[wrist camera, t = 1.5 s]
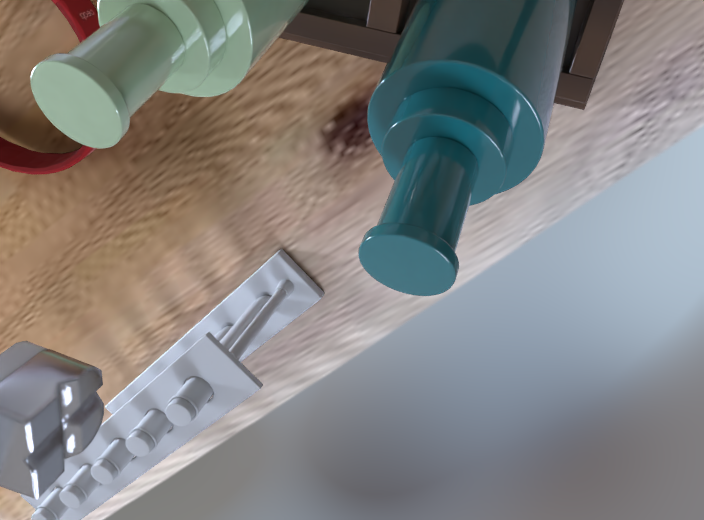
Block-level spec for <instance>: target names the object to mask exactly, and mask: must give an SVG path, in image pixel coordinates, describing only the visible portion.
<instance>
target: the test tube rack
mask: <svg viewBox="0 0 704 520" xmlns="http://www.w3.org/2000/svg"><path fill="white" fill-rule="evenodd" d="M323 295H324V292H323V291H322V290H321V289H320V288H319V287H318V286H317V285H316V284H315V283H314V282H313V280H312V279H311V278H310V277H309V276H308V275H307V274H306V273H305V272H304V271H303V270H302V269H301V268H300V267H299V266H298V265H297V264H296V263H295V262H294V261H293V260H292V259H291V258H290V257H289V256H288V255H287V254H286V253H285V252H284V251H283V250H282V249H280V250H279V251H278V252H277V253H276V254H275V255H273V256H272V257H271V258H270V259H269V260H268V261H267V262H266V263H265V264H263V265H262V266H261V267H260V268H259V269H258V270H257V271H256V272H255V273H253V274H252V275H251V276H250V277H249V278H248V279H247V280H246V281H244V282H243V283H242V284H241V285H240V286H239V287H238V288H237V289H236V290H234V291H233V292H232V293H231V294H230V295H229V296H228V297H227V298H225V299H224V300H223V301H222V302H221V303H220V304H219V305H218V306H216V307H215V308H214V309H213V310H212V311H211V312H210V313H209V314H208V315H206V316H205V317H204V318H203V319H202V320H201V321H200V322H199V323H197V324H196V325H195V326H194V327H193V328H192V329H191V330H190V331H189V332H187V333H186V334H185V335H184V336H183V337H182V338H181V339H180V340H178V341H177V342H176V343H175V344H174V345H173V346H172V347H171V348H170V349H168V350H167V351H166V352H165V353H164V354H163V355H162V356H161V357H159V358H158V359H157V360H156V361H155V362H154V363H153V364H152V365H150V366H149V367H148V368H147V369H146V370H145V371H144V372H143V373H142V374H140V375H139V376H138V377H137V378H136V379H135V380H134V381H133V382H131V383H130V384H129V385H128V386H127V387H126V388H125V389H124V390H122V391H121V392H120V393H119V394H118V395H117V396H116V397H115V398H113V399H112V400H111V401H110V402H109V403H108V404H107V405H106V406H105V408H106V409H107V410H109V411H110V412H111V413H112V414H113V415H112V416H111V417H110V418H108V419H107V420H106V421H105V422H104V423H103V424H102V425H101V426H100V428H99V430H98V432H97V434H96V436H95V438H94V439H93V441H92V442H91V443H90V444H89V446H88V447H87V448H86V449H85V450H84V451H83V452H82V453H80V454H78V455H75V456H72V457H70V458H67V459H66V460H65V471H64V472H63V473H62V475H61V476H60V477H59V478H58V479H57V480H56V481H55V482H54V483H53V484H52V485H51V486H50V487H49V488H48V489H47V490H46V491H45V492H44V493H43V495H42V496H41V497H40V498H39V499H38V500H36V499H34V498H31V497H28V496H25V495H23V494H21V497H23V498H24V499H25V500H26V501H27V502H28V503H29V504H31V505H32V506H33V507H34V508H35V513H34V514H33V515H32V517H31V518H32V520H81V519H83V518H84V517H85V516H87V515H88V514H89V513H91V512H92V511H94V510H95V509H96V508H98V507H99V506H100V505H102V504H103V503H104V502H106V501H107V500H109V499H110V498H111V497H113V496H114V495H115V494H117V493H118V492H120V491H121V490H122V489H124V488H125V487H126V486H128V485H129V484H131V483H132V482H133V481H135V480H136V479H137V478H139V477H140V476H141V475H143V474H144V473H146V472H147V471H148V470H150V469H151V468H152V467H154V466H155V465H157V464H158V463H159V462H161V461H162V460H163V459H165V458H166V457H168V456H169V455H170V454H172V453H173V452H174V451H176V450H177V449H179V448H180V447H181V446H183V445H184V444H185V443H187V442H188V441H189V440H191V439H192V438H194V437H195V436H196V435H198V434H199V433H200V432H202V431H203V430H205V429H206V428H207V427H209V426H210V425H211V424H213V423H214V422H216V421H217V420H218V419H220V418H221V417H222V416H224V415H225V414H227V413H228V412H229V411H231V410H232V409H233V408H235V407H236V406H238V405H239V404H240V403H242V402H243V401H244V400H246V399H247V398H248V397H250V396H251V395H253V394H254V393H255V392H257V391H258V390H259V389H261V387H262V386H263V384H262V383H261V382H260V381H259V380H258V379H257V378H256V377H255V376H254V375H253V374H252V373H251V372H250V371H249V370H248V369H247V368H246V367H245V366H244V365H243V364H242V363H241V361H242V360H244V359H245V358H246V357H247V356H249V355H250V354H251V353H252V352H254V351H255V350H256V349H258V348H259V347H260V346H261V345H263V344H264V343H265V342H266V341H268V340H269V339H270V338H272V337H273V336H274V335H275V334H277V333H278V332H279V331H280V330H282V329H283V328H284V327H286V326H287V325H288V324H289V323H291V322H292V321H293V320H294V319H296V318H297V317H298V316H300V315H301V314H302V313H303V312H305V311H306V310H307V309H309V308H310V307H311V306H312V305H314V304H315V303H316V302H317V301H319V300H320V299H321V298H322V296H323ZM212 395H213V397H212V398H211V399H210V397H211V396H212ZM209 399H210V400H209ZM172 426H173V427H172ZM171 427H172V429H171V430H169V429H170V428H171ZM134 456H135V457H134ZM133 457H134V458H133ZM55 487H56V488H55ZM54 488H55V490H54Z"/></svg>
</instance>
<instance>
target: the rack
mask: <svg viewBox="0 0 704 520" xmlns="http://www.w3.org/2000/svg"><path fill="white" fill-rule="evenodd" d="M416 2H417V0H310V1H309V2H308V3H307V4H306V5H305V7H304V8H303V9H302V10H301V11H300V12H299V14H298V15H297V16H296V17H295V18H294V20H293V21H292V22H291V23H290V24H289V25H288V27H287V28H286V29H285V30H284V31H283V33H282V34H281V35H280V36H279V38H284V39H288V40H292V41H296V42H300V43H305V44H309V45H313V46H317V47H321V48H326V49H330V50H334V51H338V52H342V53H347V54H351V55H355V56H359V57H363V58H368V59H372V60H376V61H380V62H385V63H388V61H389V58H390V56H391V54H392V52H393V50H394V48H395V46H396V44H397V42H398V40H399V38H400V35H401V33H402V31H403V29H404V27H405V25H406V23H407V21H408V19H409V17H410V14H411V12H412V10H413V8H414V6H415V4H416ZM623 2H624V0H578V1H577V5H576V9H575V14H574V18H573V23H572V27H571V31H570V36H569V40H568V44H567V49H566V53H565V57H564V62H563V66H562V71H561V75H560V79H559V84H558V88H557V92H556V97H555V101H554V103H557V104H561V105H565V106H570V107H574V108H578V109H582V110H584V109H585V106H586V104H587V101H588V98H589V95H590V93H591V90H592V87H593V84H594V82H595V79H596V76H597V73H598V71H599V68H600V65H601V62H602V60H603V57H604V54H605V52H606V49H607V46H608V43H609V41H610V38H611V35H612V32H613V30H614V27H615V24H616V21H617V19H618V16H619V13H620V10H621V8H622V5H623Z"/></svg>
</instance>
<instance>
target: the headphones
mask: <svg viewBox="0 0 704 520" xmlns="http://www.w3.org/2000/svg"><path fill="white" fill-rule="evenodd" d="M52 1H53V3H54V4H56V6H57V7H58V8H59V10H60V11H61V12H62V14H63V15H64V16H65V18H66V19H67V20H68V22H69V24H70V25H71V27H72V29H73V30H74V32H75V33H76V35H77V37H78V39H79V41H80V43H81V42H82V41H83V40H85V39H86V38H87V37H88V36H90V35H91V34H92V33H93V32H95V31H96V30H97V29H99V28H100V25H99V20H98V12H97V10H96V8H95V7H94V5H93V4H92V2H91V1H90V0H52ZM96 149H97V148H93V147H89V146H86V145H83V146H82V147H81V148H80V149H78V150H76V151H74V152H68V153H63V154H59V153H41V152H36V151H31V150H28V149H26V148H23V147H21V146H18V145H16V144H13V143H11V142H9V141H7V140H5V139H3V138H2V137H0V167H2V168H5V169H8V170H11V171H15V172H21V173H27V174H50V173H56V172H59V171H63V170H65V169H67V168H70V167H72V166H73V165H75V164H76V163H78V162H79V161H81V160H82V159H84V158H85V157H86V156H88V155H89V154H90V153H92V152H93V151H94V150H96Z"/></svg>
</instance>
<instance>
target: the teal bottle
mask: <svg viewBox="0 0 704 520" xmlns="http://www.w3.org/2000/svg"><path fill="white" fill-rule="evenodd" d="M577 1H578V0H417V2H416V4H415V6H414V8H413V10H412V12H411V14H410V17H409V19H408V21H407V23H406V25H405V27H404V29H403V31H402V33H401V35H400V38H399V40H398V42H397V44H396V46H395V48H394V50H393V52H392V54H391V56H390V58H389V61H388V63H387V65H386V67H385V69H384V71H383V73H382V75H381V77H380V79H379V82H378V84H377V86H376V88H375V90H374V92H373V94H372V96H371V99H370V102H369V105H368V112H367V119H368V128H369V132H370V135H371V138H372V141H373V143H374V145H375V147H376V149H377V150H378V152H379V153H380V155H381V156H382V158H383V162H384V165H385V167H386V169H387V171H388V172H389V174H390V175H391V177H392V178H393V179H394V180H395V181H394V184H393V186H392V189H391V191H390V194H389V196H388V199H387V201H386V204H385V206H384V209H383V211H382V214H381V216H380V219H379V221H378V224H377V226H375V227H373V228H371V229H370V230H369V231H368V232H367V233H366V234H365V235H364V237H363V240H362V242H361V245H360V247H359V259H360V262H361V264H362V266H363V267H364V269H365V270H366V271H367V272H368V273H369V274H370V275H371V276H372V277H373V278H374V279H376V280H377V281H378V282H380V283H382V284H383V285H385V286H387V287H389V288H391V289H394V290H396V291H399V292H403V293H406V294H411V295H418V296H431V295H437V294H441V293H443V292H445V291H447V290H448V289H449V288H451V287H452V285H453V284H454V282H455V280H456V276H457V273H458V269H459V262H458V258H457V256H456V253H455V251H456V247H457V244H458V241H459V237H460V234H461V231H462V227H463V224H464V221H465V218H466V214H467V211H468V208H469V206H470V205H474V204H478V203H481V202H483V201H485V200H487V199H489V198H490V197H492V196H493V195H494V194H498V193H501V192H504V191H506V190H509V189H511V188H512V187H514V186H516V185H518V184H519V183H521V182H522V181H523V180H525V179H526V178H527V177H528V176H529V175H530V174H531V173H532V171H533V170H534V169H535V167H536V166H537V164H538V162H539V160H540V158H541V156H542V152H543V149H544V145H545V140H546V136H547V132H548V127H549V123H550V119H551V114H552V110H553V105H554V101H555V97H556V92H557V88H558V84H559V79H560V75H561V71H562V66H563V62H564V57H565V53H566V49H567V44H568V40H569V36H570V31H571V27H572V23H573V18H574V14H575V9H576V5H577Z"/></svg>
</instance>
